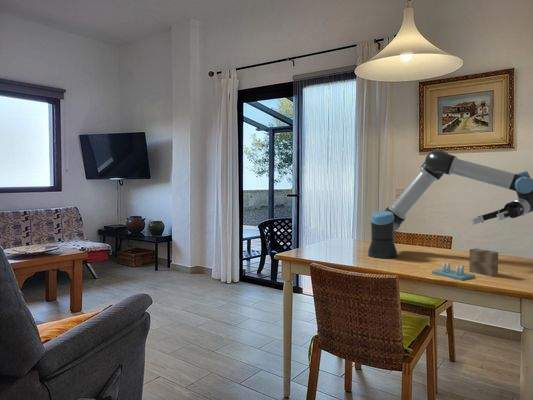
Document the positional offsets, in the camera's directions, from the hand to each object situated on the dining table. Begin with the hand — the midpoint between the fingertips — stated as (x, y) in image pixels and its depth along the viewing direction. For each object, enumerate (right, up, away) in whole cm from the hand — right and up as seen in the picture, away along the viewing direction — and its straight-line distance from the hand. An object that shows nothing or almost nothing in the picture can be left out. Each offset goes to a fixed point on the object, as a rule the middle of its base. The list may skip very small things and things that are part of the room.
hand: (485, 219), depth 180 cm
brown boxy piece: (-5, -23, -7) cm, 24 cm away
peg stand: (-19, -23, -9) cm, 31 cm away
